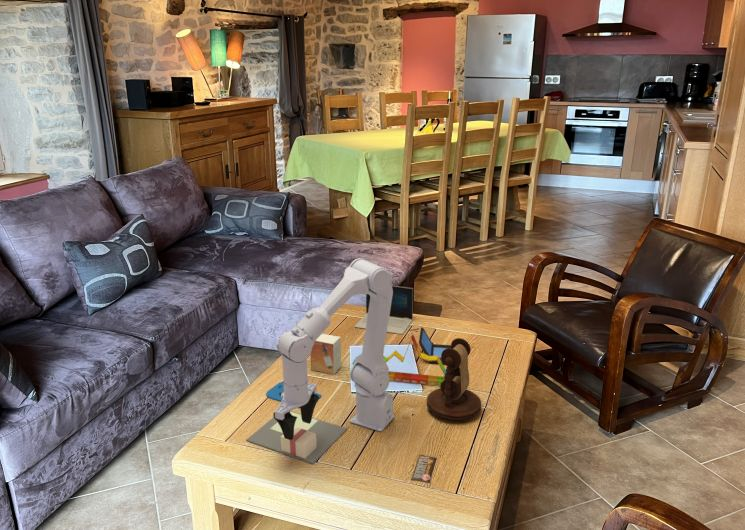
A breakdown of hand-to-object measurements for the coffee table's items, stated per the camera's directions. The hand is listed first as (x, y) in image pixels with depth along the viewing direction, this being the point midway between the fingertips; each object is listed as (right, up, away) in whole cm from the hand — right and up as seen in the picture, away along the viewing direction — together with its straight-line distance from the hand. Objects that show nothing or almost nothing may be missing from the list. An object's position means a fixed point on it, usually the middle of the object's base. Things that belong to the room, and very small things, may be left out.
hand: (297, 430), depth 148 cm
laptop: (+22, +18, +71) cm, 77 cm away
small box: (+4, +8, +41) cm, 42 cm away
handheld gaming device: (-5, +2, +26) cm, 26 cm away
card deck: (0, -5, +2) cm, 6 cm away
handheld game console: (+39, +11, +49) cm, 63 cm away
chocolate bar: (+30, -8, -4) cm, 32 cm away
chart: (+27, +5, +34) cm, 44 cm away
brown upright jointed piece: (+40, 0, +19) cm, 45 cm away
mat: (-1, -3, +8) cm, 9 cm away
